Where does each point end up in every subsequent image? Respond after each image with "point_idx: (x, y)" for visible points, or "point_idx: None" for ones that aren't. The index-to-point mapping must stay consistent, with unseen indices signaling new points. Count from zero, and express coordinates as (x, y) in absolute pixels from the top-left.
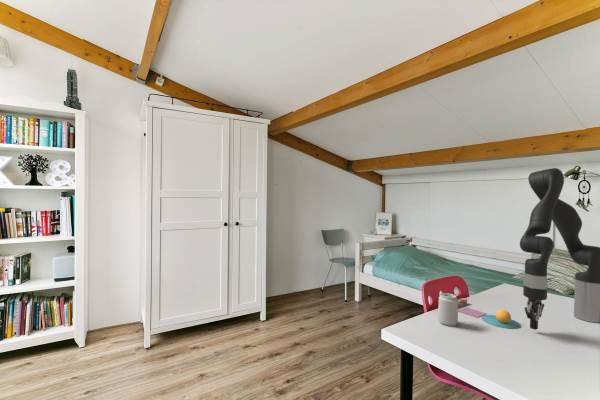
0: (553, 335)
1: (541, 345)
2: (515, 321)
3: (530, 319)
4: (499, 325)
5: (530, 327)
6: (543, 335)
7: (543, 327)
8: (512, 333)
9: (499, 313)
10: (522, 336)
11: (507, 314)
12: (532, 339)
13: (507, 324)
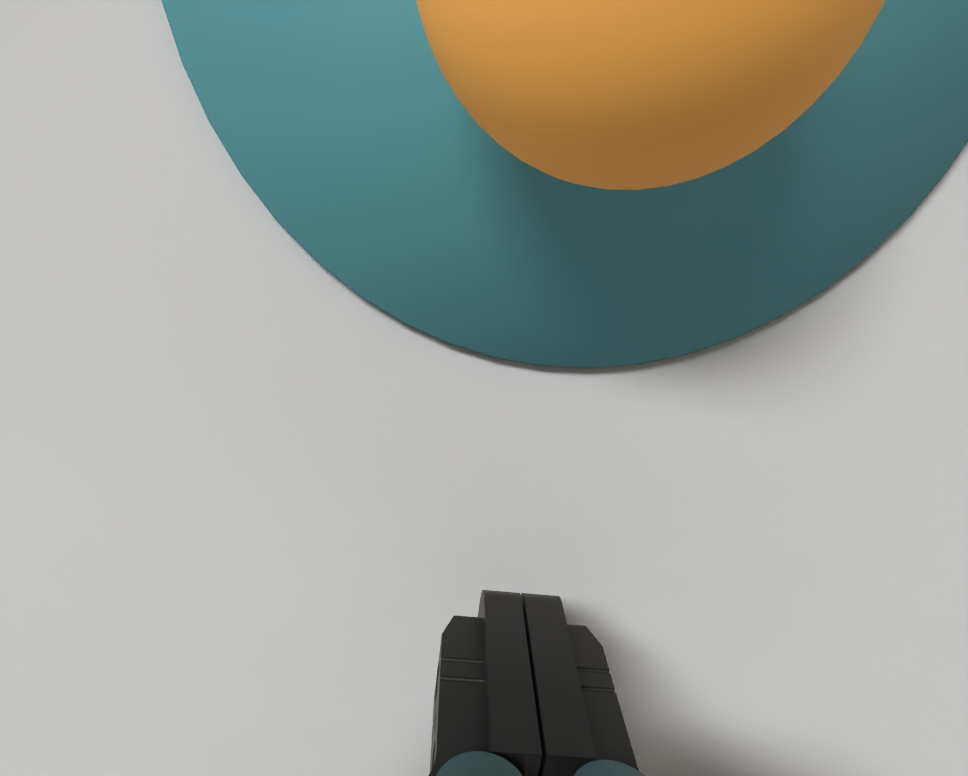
0: None
1: (22, 754)
2: (892, 210)
3: (493, 744)
4: (250, 14)
5: (482, 599)
6: None
7: (927, 622)
8: (74, 357)
9: None
10: (110, 511)
11: (554, 100)
12: (139, 636)
13: None
